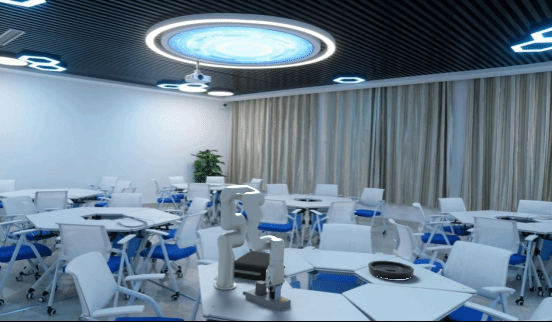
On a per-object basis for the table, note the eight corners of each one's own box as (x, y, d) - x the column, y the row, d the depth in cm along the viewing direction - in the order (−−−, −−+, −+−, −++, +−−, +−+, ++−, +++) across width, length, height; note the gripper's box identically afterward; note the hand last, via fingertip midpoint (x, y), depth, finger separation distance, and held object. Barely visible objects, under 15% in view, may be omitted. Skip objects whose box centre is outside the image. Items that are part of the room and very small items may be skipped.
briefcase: (274, 284, 236) (275, 268, 236) (227, 277, 246) (228, 261, 245) (290, 268, 271) (291, 254, 270) (248, 263, 280) (249, 249, 280)
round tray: (420, 283, 251) (405, 269, 281) (420, 273, 251) (406, 261, 281) (373, 280, 252) (364, 267, 282) (373, 271, 252) (364, 259, 282)
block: (269, 300, 203) (269, 284, 203) (274, 298, 206) (274, 283, 206) (275, 302, 200) (276, 287, 200) (280, 300, 204) (281, 285, 203)
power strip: (237, 295, 215) (238, 278, 215) (249, 291, 222) (249, 274, 222) (279, 311, 196) (280, 292, 195) (290, 306, 202) (291, 288, 202)
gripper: (281, 258, 212) (279, 291, 212) (260, 263, 199) (258, 299, 200) (291, 261, 207) (290, 295, 207) (271, 267, 194) (269, 303, 195)
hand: (274, 296), depth 203 cm, fingers closed on block, 4 cm apart
